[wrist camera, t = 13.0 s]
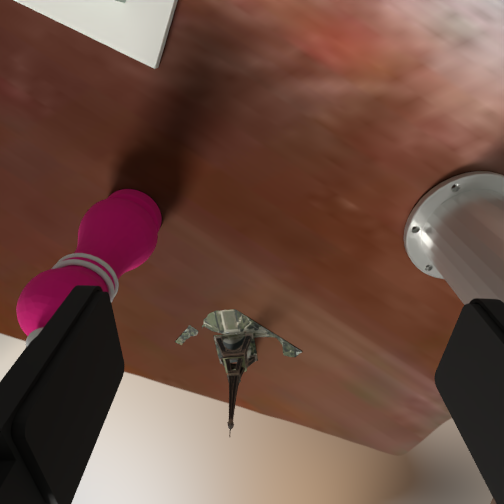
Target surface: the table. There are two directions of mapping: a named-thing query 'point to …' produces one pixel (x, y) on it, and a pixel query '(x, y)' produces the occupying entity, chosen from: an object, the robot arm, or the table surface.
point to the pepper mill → (94, 256)
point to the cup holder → (116, 23)
